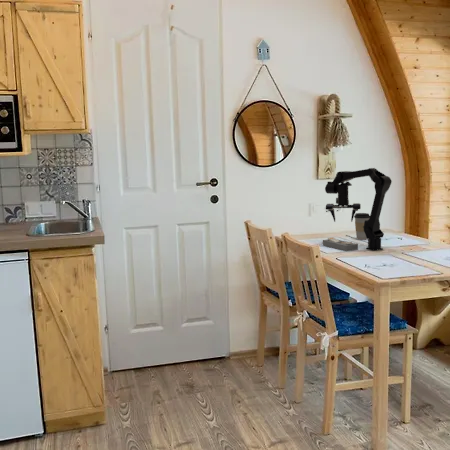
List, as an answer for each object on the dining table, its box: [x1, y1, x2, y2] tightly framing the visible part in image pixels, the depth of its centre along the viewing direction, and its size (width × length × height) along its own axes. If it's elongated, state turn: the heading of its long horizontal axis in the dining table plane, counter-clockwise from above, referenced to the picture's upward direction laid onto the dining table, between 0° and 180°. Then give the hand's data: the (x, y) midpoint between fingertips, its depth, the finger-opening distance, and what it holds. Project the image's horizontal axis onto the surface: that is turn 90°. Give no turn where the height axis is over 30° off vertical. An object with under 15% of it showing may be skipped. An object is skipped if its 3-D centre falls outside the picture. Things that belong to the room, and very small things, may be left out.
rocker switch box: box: [322, 239, 359, 252], centre depth 286 cm, size 20×8×3 cm, turn 27°
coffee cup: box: [353, 212, 370, 241], centre depth 310 cm, size 9×9×15 cm
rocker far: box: [327, 237, 340, 242], centre depth 290 cm, size 6×4×1 cm, turn 27°
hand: (343, 221), depth 292 cm, fingers open, 9 cm apart
